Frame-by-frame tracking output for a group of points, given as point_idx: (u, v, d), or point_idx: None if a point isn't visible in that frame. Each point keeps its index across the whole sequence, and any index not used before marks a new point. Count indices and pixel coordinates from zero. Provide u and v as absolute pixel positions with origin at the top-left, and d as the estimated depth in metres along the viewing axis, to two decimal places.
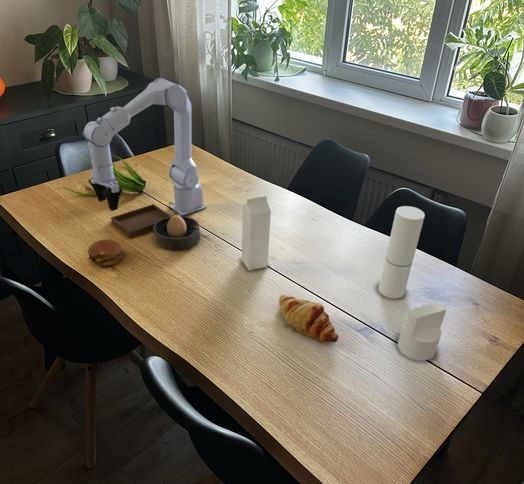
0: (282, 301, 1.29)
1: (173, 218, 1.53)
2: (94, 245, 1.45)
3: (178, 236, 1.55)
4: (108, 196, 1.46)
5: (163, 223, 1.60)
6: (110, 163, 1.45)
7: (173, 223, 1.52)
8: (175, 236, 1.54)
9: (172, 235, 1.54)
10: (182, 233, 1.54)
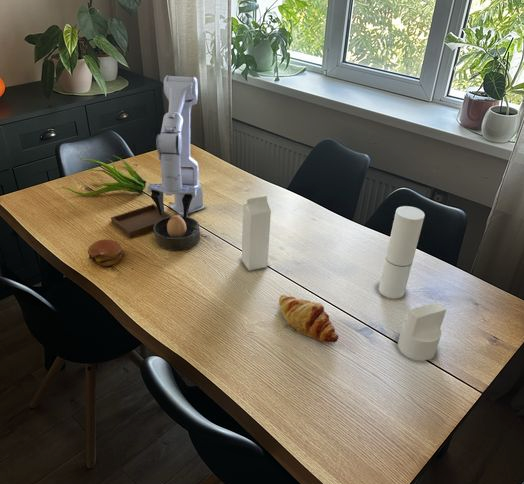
0: (282, 301, 1.29)
1: (173, 218, 1.53)
2: (94, 245, 1.45)
3: (178, 236, 1.55)
4: (189, 202, 1.48)
5: (163, 223, 1.60)
6: None
7: (173, 223, 1.52)
8: (175, 236, 1.54)
9: (172, 235, 1.54)
10: (182, 233, 1.54)
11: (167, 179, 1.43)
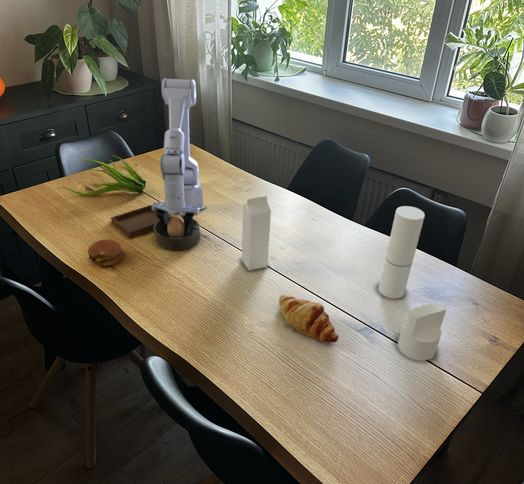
0: (282, 301, 1.29)
1: (173, 218, 1.53)
2: (94, 245, 1.45)
3: (178, 236, 1.55)
4: (190, 220, 1.51)
5: None
6: None
7: (173, 223, 1.52)
8: (175, 236, 1.54)
9: (172, 235, 1.54)
10: (182, 233, 1.54)
11: (170, 198, 1.47)
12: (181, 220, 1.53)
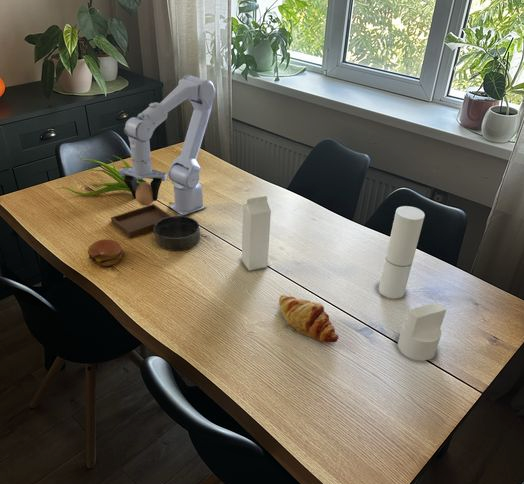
0: (282, 301, 1.29)
1: (141, 184, 1.55)
2: (94, 245, 1.45)
3: (146, 202, 1.56)
4: (157, 186, 1.53)
5: (163, 223, 1.60)
6: (150, 157, 1.50)
7: (141, 189, 1.54)
8: (143, 202, 1.56)
9: (140, 201, 1.56)
10: (150, 199, 1.56)
11: (137, 163, 1.49)
12: (149, 186, 1.55)
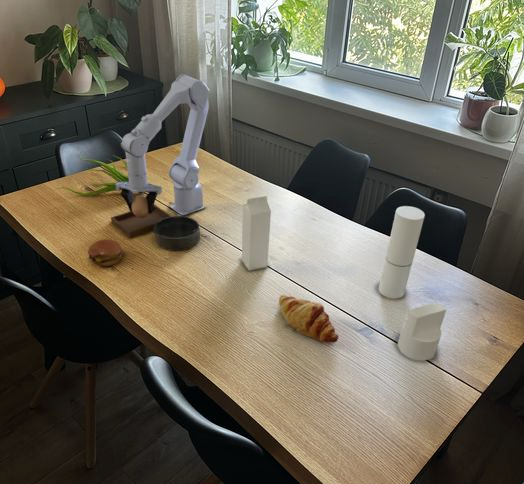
0: (282, 301, 1.29)
1: (137, 197, 1.59)
2: (94, 245, 1.45)
3: (142, 215, 1.61)
4: (153, 199, 1.57)
5: (163, 223, 1.60)
6: (145, 172, 1.54)
7: (137, 202, 1.59)
8: (139, 215, 1.61)
9: (136, 214, 1.60)
10: (146, 212, 1.61)
11: (133, 177, 1.53)
12: (145, 199, 1.60)
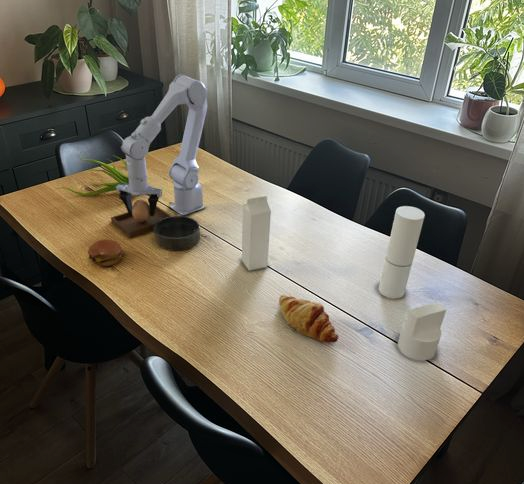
0: (282, 301, 1.29)
1: (137, 202, 1.60)
2: (94, 245, 1.45)
3: (142, 219, 1.62)
4: (155, 202, 1.58)
5: (163, 223, 1.60)
6: (145, 175, 1.55)
7: (137, 207, 1.60)
8: (140, 219, 1.62)
9: (137, 218, 1.61)
10: (146, 216, 1.62)
11: (133, 180, 1.54)
12: (145, 204, 1.61)
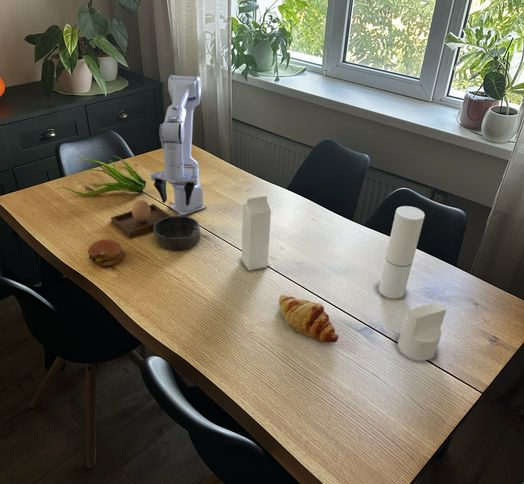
0: (282, 301, 1.29)
1: (137, 202, 1.60)
2: (94, 245, 1.45)
3: (142, 219, 1.62)
4: (191, 190, 1.52)
5: (163, 223, 1.60)
6: None
7: (137, 207, 1.60)
8: (140, 219, 1.62)
9: (137, 218, 1.61)
10: (146, 216, 1.62)
11: (170, 167, 1.47)
12: (145, 204, 1.61)
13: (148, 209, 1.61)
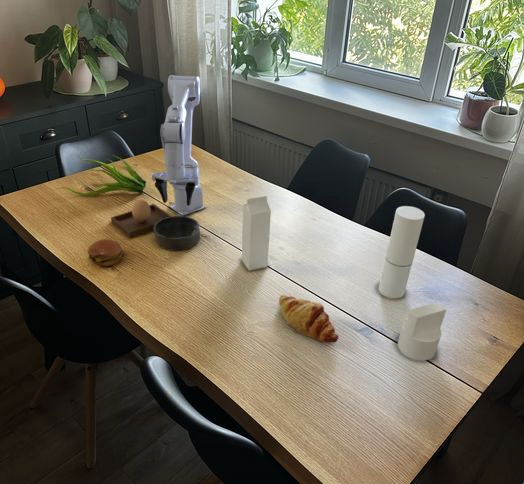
0: (282, 301, 1.29)
1: (137, 202, 1.60)
2: (94, 245, 1.45)
3: (142, 219, 1.62)
4: (192, 190, 1.52)
5: (163, 223, 1.60)
6: None
7: (137, 207, 1.60)
8: (140, 219, 1.62)
9: (137, 218, 1.61)
10: (146, 216, 1.62)
11: (171, 167, 1.47)
12: (145, 204, 1.61)
13: (148, 209, 1.61)
